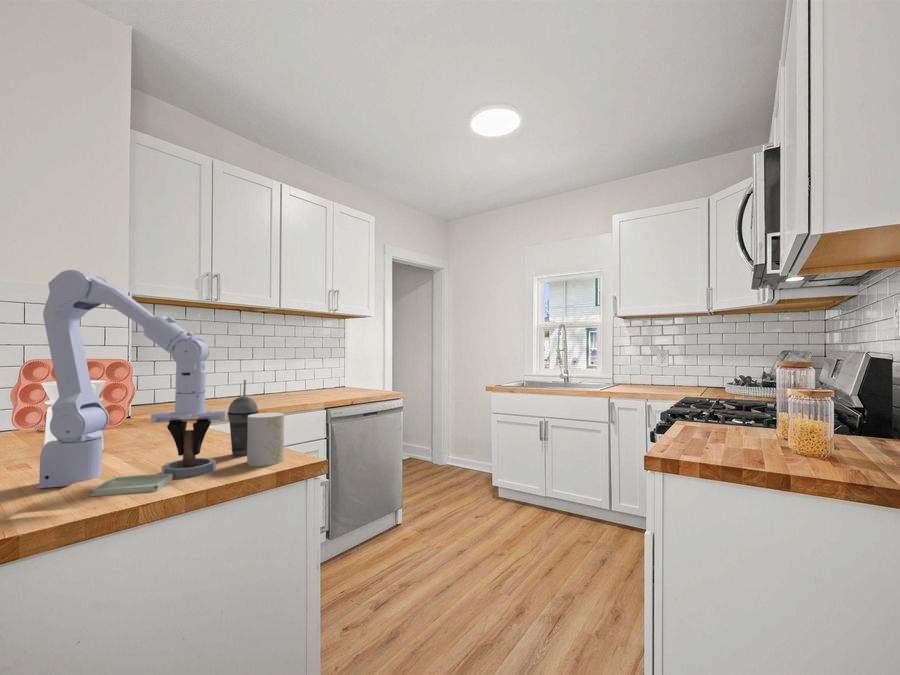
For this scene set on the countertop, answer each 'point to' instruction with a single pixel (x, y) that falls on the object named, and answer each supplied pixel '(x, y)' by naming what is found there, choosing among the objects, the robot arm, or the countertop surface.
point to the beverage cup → (240, 422)
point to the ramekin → (200, 468)
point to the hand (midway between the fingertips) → (189, 454)
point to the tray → (132, 484)
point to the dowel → (188, 449)
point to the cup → (265, 439)
